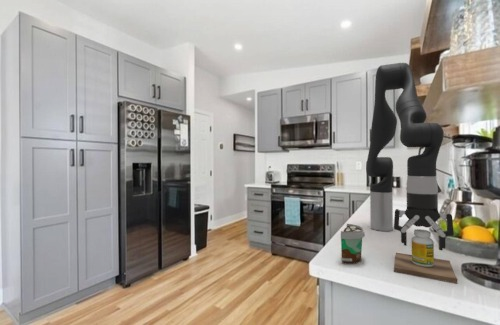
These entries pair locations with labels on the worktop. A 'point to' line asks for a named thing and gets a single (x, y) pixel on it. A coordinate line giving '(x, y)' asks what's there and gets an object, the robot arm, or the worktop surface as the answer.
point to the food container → (351, 244)
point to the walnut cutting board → (425, 268)
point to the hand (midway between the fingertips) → (422, 247)
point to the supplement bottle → (422, 248)
